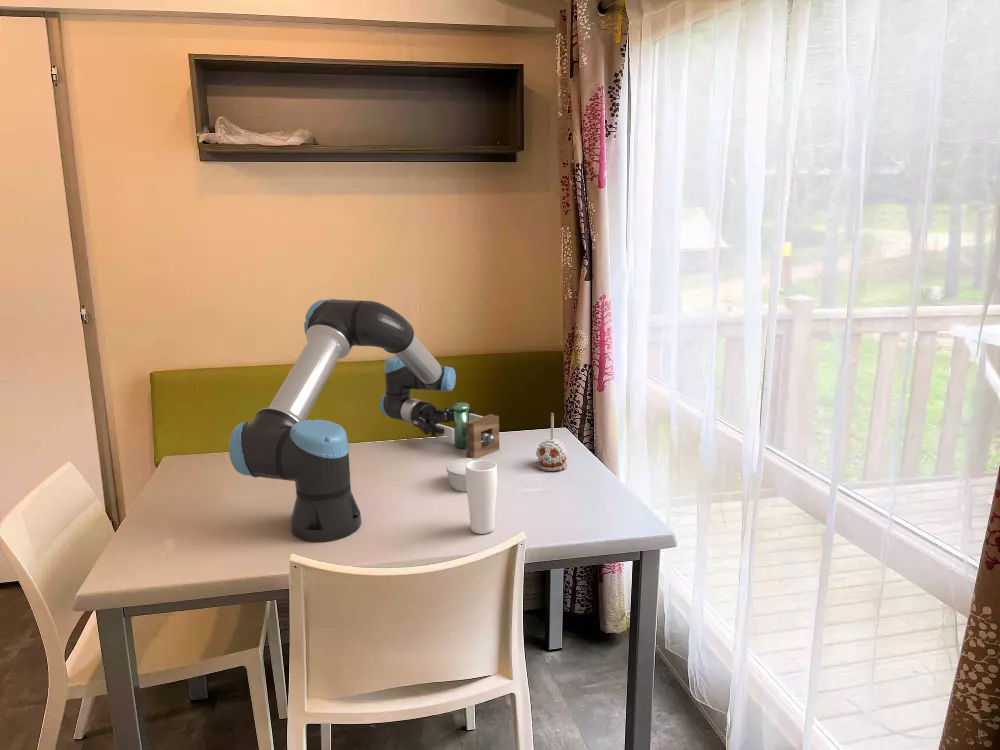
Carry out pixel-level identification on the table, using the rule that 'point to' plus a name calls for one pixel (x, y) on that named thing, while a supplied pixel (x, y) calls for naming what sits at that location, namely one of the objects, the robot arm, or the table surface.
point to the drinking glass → (481, 495)
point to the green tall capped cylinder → (460, 426)
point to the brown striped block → (474, 436)
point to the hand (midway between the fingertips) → (470, 427)
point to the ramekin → (458, 473)
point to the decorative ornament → (552, 452)
